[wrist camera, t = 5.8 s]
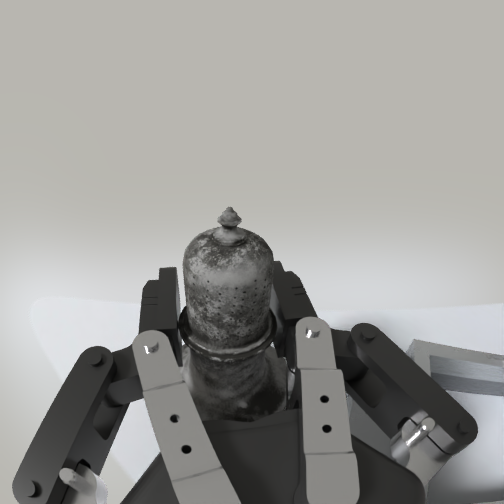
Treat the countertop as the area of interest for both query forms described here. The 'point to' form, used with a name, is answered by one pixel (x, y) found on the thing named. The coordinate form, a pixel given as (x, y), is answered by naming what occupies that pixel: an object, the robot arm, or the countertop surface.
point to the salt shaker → (230, 325)
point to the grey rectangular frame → (447, 376)
